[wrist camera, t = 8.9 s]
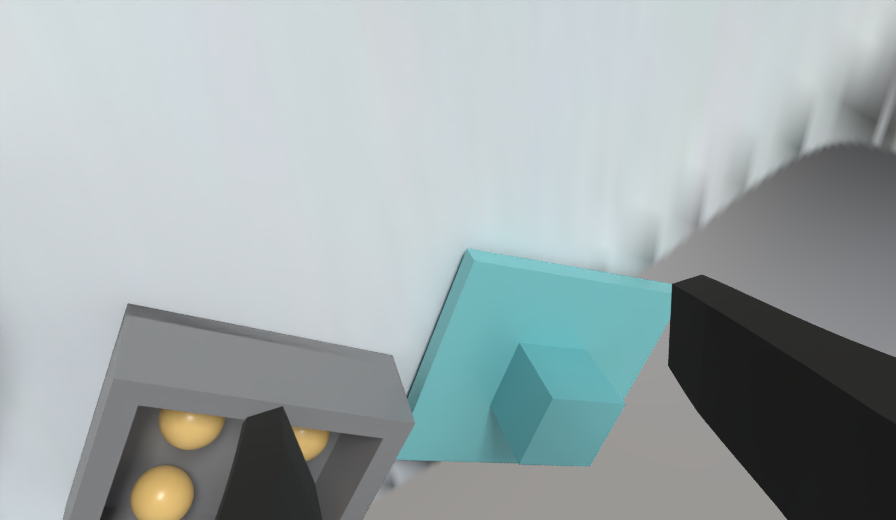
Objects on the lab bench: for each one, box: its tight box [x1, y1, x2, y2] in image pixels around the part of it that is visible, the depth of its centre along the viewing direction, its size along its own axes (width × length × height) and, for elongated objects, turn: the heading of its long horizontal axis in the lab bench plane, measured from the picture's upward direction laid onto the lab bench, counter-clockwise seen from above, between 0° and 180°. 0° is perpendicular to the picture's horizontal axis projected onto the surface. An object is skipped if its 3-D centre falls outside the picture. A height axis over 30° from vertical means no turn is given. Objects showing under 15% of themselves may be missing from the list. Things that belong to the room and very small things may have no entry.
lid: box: [396, 249, 672, 466], centre depth 25 cm, size 9×9×4 cm
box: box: [63, 304, 415, 520], centre depth 23 cm, size 9×9×4 cm
